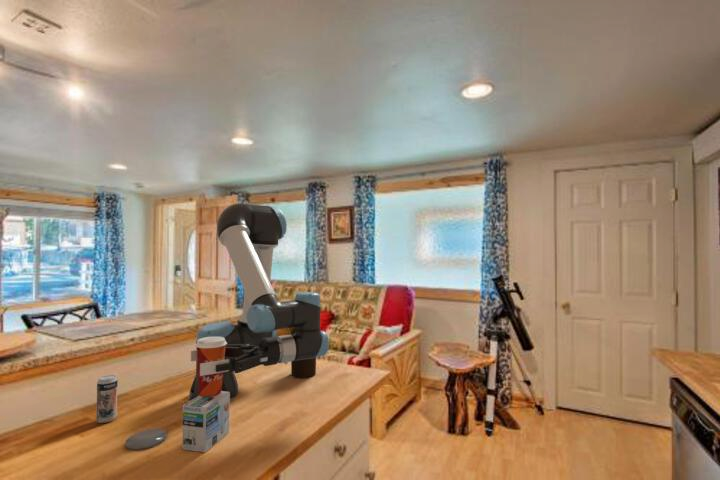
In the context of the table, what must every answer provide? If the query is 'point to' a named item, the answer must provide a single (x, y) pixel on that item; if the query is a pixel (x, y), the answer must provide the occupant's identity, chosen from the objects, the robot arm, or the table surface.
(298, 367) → the olive oil
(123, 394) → the table surface
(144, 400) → the table surface
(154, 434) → the slate coaster
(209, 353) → the paper cup
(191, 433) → the light bulb box
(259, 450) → the table surface
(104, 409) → the beer can
